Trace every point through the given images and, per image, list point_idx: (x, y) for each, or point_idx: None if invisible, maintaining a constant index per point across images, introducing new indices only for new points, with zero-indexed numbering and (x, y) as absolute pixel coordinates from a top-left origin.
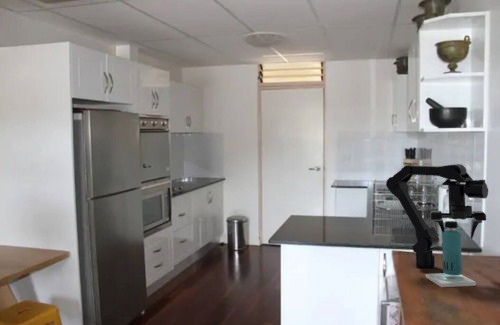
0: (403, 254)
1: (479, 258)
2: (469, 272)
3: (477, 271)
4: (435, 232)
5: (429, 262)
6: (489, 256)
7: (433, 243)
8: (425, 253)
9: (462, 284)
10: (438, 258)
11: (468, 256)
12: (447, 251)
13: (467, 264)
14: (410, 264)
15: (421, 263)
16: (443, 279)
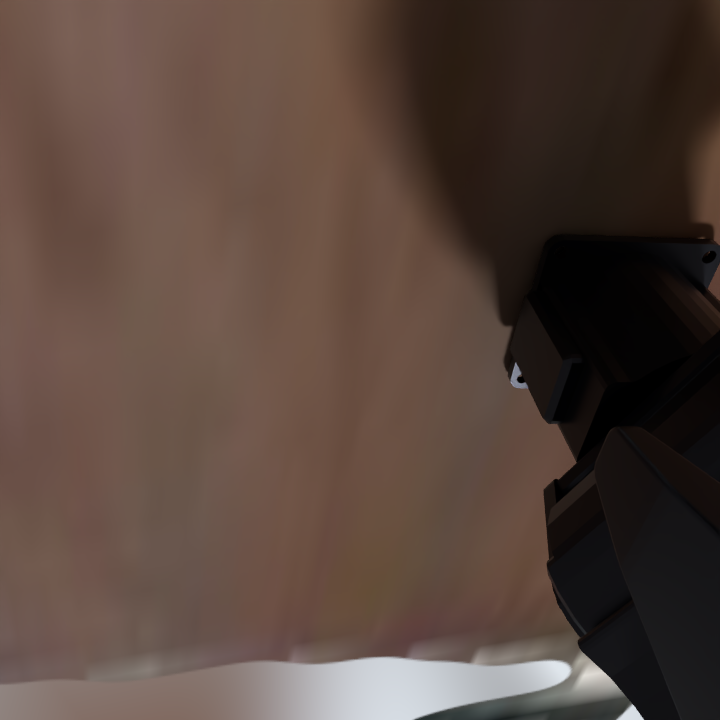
0: None
1: (75, 618)
2: (164, 157)
3: (72, 221)
4: (661, 688)
5: (598, 293)
6: (3, 671)
7: (698, 421)
8: (703, 342)
9: None
10: (402, 559)
11: (161, 643)
12: None
13: (176, 451)
14: None
15: (681, 274)
16: None
